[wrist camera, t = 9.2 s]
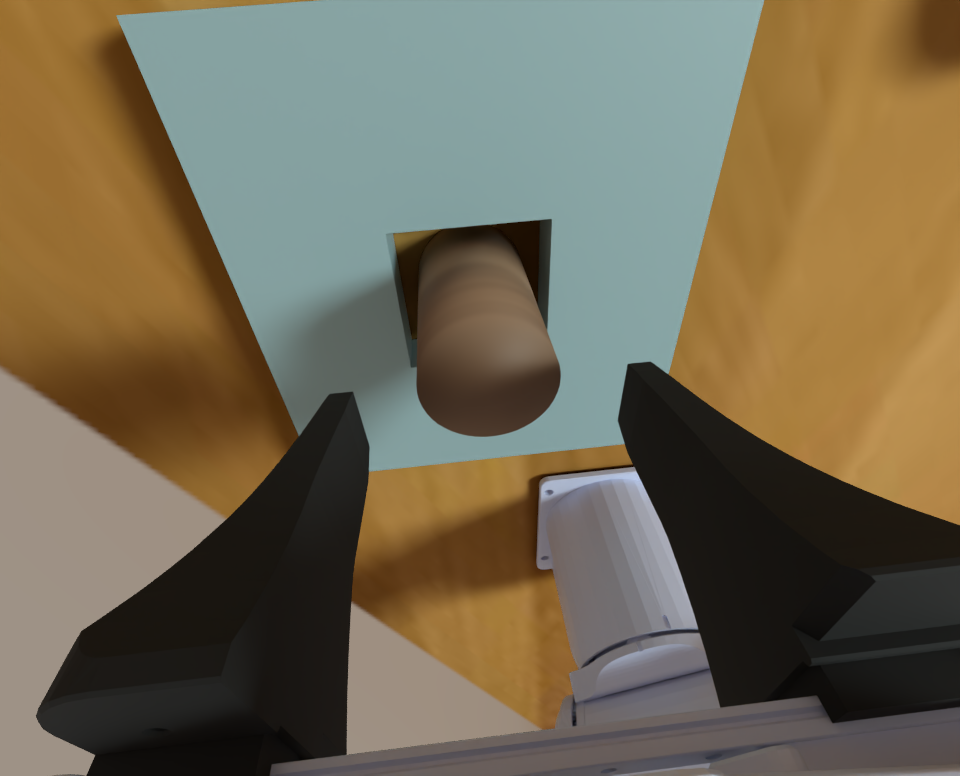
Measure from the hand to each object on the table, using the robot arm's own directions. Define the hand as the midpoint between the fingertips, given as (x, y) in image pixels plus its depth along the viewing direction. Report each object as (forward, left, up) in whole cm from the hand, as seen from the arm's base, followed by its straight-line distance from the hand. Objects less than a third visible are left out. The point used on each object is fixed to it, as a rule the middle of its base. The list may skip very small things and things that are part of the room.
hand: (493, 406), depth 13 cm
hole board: (0, 0, -8) cm, 8 cm away
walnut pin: (0, 0, -8) cm, 8 cm away
